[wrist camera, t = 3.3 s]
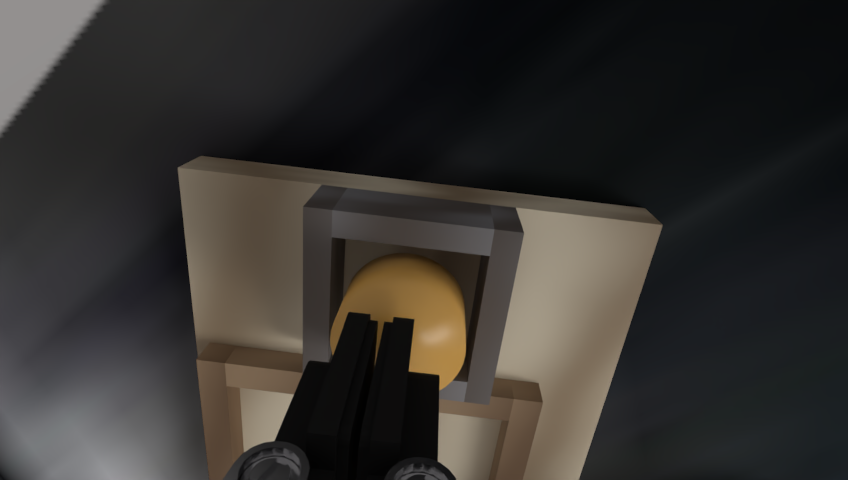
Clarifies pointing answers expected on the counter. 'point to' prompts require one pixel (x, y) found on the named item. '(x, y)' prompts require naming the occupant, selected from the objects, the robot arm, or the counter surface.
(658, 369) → the counter surface
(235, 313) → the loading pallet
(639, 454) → the counter surface
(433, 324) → the button
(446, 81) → the counter surface
